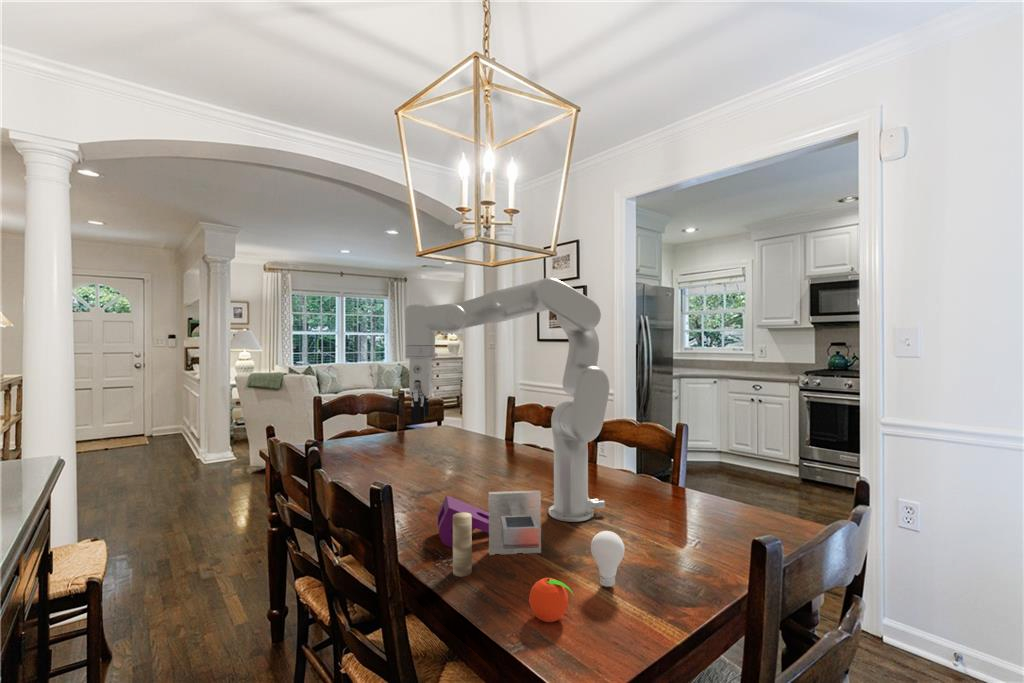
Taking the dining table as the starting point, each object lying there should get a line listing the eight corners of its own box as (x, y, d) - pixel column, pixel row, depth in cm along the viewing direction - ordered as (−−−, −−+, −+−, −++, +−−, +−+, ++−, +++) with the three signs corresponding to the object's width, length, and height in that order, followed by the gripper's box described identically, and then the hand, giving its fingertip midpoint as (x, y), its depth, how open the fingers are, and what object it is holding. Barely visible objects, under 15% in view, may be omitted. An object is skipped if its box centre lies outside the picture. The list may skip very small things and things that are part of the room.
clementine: (576, 612, 88) (576, 573, 88) (571, 634, 81) (571, 592, 81) (533, 605, 90) (533, 567, 90) (525, 627, 83) (525, 586, 83)
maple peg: (471, 567, 105) (471, 512, 105) (471, 576, 101) (471, 518, 101) (453, 567, 105) (453, 512, 105) (452, 576, 101) (452, 519, 101)
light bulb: (584, 586, 97) (583, 532, 97) (603, 575, 101) (603, 523, 101) (612, 599, 92) (612, 542, 92) (631, 586, 97) (631, 532, 97)
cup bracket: (540, 549, 114) (539, 490, 114) (550, 582, 99) (550, 513, 99) (488, 552, 113) (488, 492, 113) (491, 585, 98) (491, 515, 98)
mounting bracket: (495, 550, 127) (432, 525, 124) (508, 520, 128) (446, 495, 125) (500, 567, 118) (433, 540, 115) (515, 534, 119) (448, 507, 116)
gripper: (431, 353, 116) (431, 425, 116) (438, 351, 133) (438, 414, 133) (399, 353, 115) (399, 425, 115) (410, 351, 132) (411, 414, 133)
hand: (420, 419), depth 124 cm, fingers open, 9 cm apart
